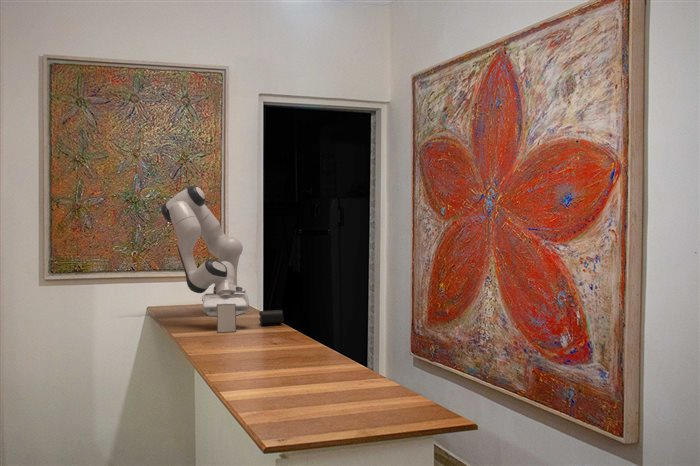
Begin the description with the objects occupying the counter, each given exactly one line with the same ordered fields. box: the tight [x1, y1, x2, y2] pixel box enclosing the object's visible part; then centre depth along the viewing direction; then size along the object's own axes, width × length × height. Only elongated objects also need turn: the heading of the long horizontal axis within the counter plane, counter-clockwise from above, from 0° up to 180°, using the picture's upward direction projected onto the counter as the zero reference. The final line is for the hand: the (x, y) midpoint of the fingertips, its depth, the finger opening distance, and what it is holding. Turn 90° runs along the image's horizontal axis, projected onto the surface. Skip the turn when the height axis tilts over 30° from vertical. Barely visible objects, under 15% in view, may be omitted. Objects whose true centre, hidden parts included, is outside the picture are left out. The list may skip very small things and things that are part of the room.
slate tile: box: [216, 304, 237, 334], centre depth 315 cm, size 2×8×12 cm, turn 100°
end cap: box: [258, 309, 284, 327], centre depth 332 cm, size 10×7×7 cm
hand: (226, 318), depth 318 cm, fingers closed
